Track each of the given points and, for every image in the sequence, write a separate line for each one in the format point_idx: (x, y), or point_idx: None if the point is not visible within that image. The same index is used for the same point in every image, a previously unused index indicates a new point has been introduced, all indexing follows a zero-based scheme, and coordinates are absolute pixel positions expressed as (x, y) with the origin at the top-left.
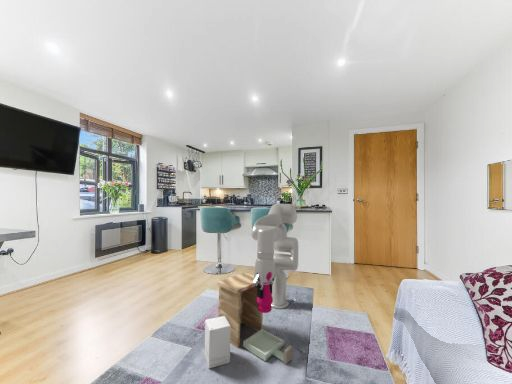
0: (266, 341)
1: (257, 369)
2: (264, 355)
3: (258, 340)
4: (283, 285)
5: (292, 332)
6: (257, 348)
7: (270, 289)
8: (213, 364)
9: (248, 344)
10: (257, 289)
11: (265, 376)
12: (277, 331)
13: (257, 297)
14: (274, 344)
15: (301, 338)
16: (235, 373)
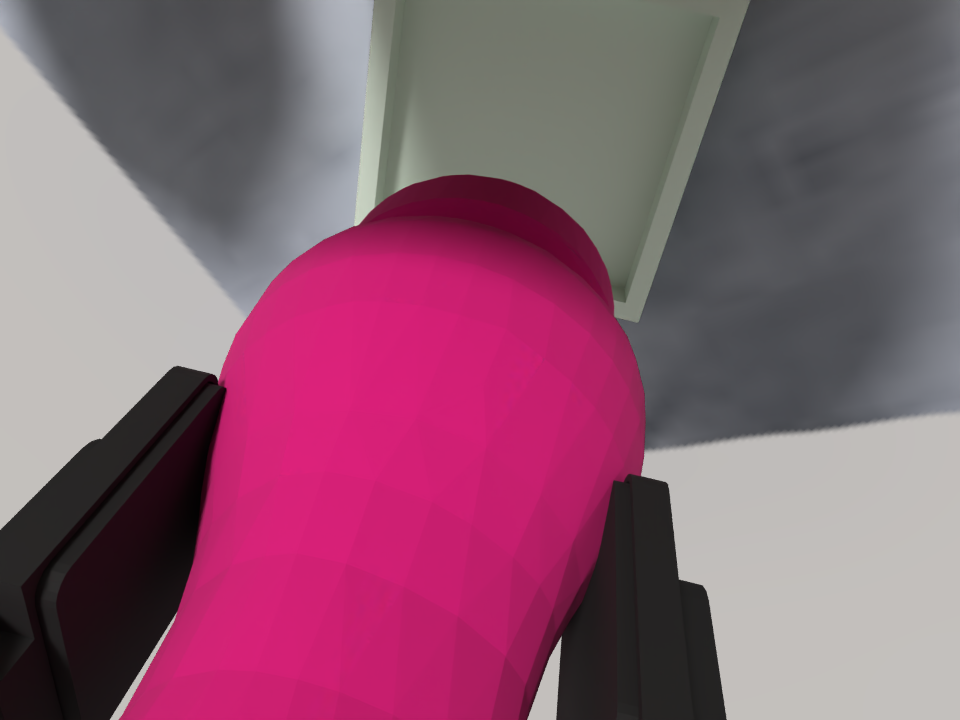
0: (586, 140)
1: (264, 213)
2: None
3: (556, 48)
4: None
5: (922, 295)
6: (379, 145)
7: (562, 716)
8: None
9: (374, 16)
10: (26, 530)
11: (253, 292)
12: (885, 139)
13: (259, 317)
14: None
15: (839, 394)
16: (108, 76)
